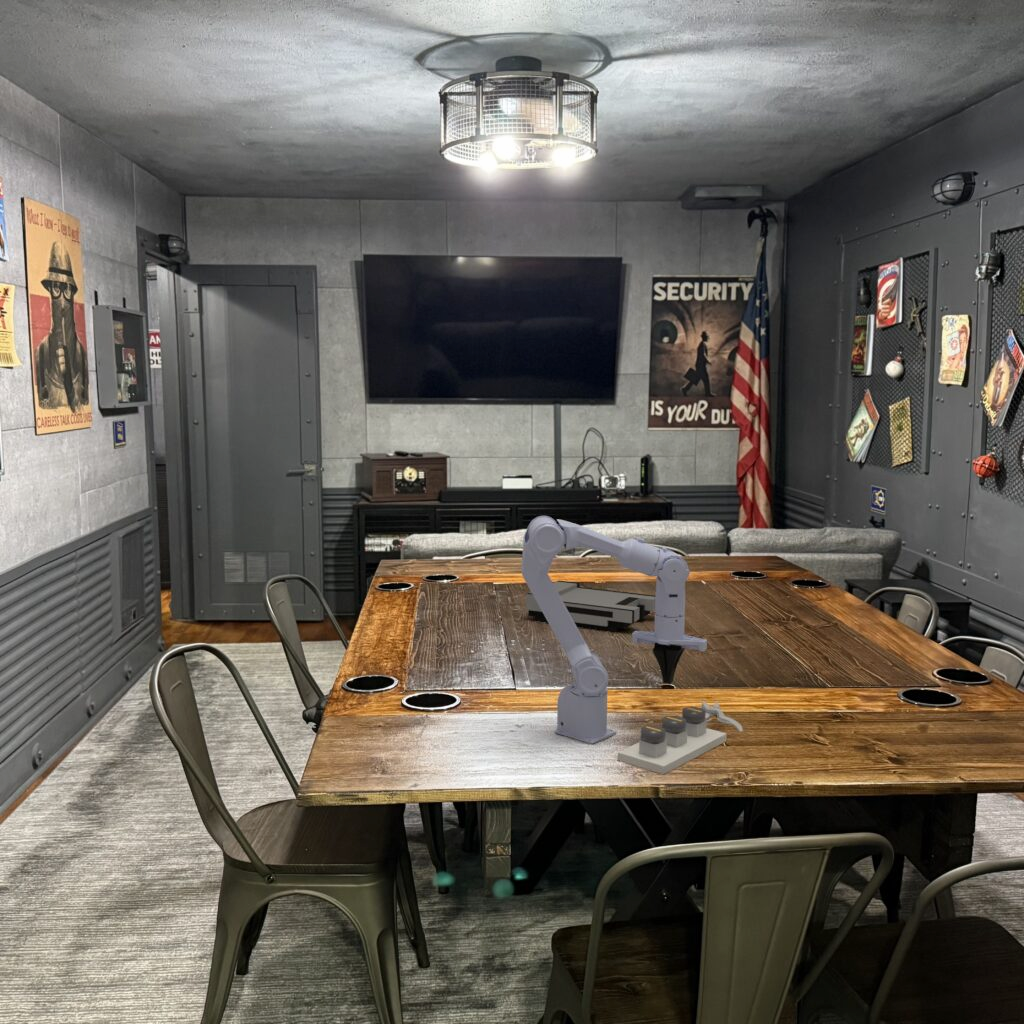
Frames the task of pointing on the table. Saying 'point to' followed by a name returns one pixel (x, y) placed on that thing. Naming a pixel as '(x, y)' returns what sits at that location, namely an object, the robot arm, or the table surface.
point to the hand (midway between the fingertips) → (668, 682)
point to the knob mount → (673, 748)
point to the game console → (597, 606)
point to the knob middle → (674, 724)
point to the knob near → (653, 734)
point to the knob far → (694, 714)
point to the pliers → (719, 715)
